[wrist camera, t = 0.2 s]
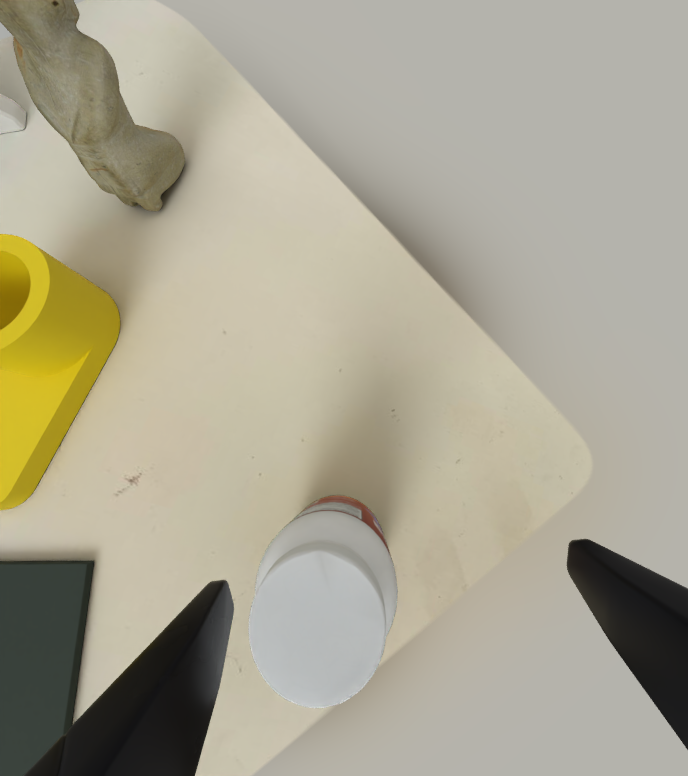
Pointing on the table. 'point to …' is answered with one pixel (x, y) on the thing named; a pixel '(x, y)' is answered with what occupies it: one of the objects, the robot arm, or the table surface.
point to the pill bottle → (323, 603)
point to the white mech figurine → (11, 115)
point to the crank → (44, 358)
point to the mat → (39, 655)
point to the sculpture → (89, 102)
